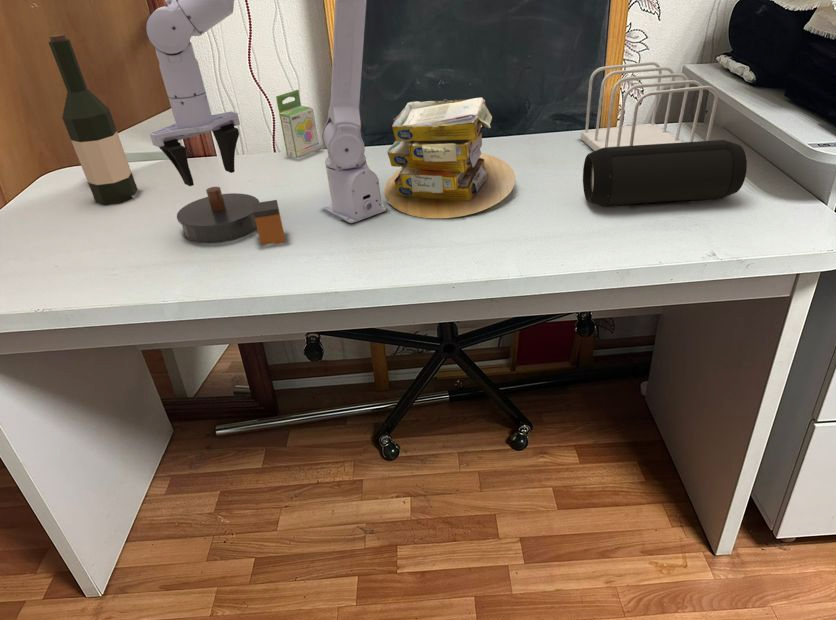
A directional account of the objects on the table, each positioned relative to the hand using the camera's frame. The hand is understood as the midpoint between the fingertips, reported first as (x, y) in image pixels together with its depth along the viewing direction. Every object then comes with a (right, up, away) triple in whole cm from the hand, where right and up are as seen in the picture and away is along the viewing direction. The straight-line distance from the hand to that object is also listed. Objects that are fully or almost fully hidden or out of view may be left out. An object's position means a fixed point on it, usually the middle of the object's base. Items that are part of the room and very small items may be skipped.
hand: (210, 177), depth 106 cm
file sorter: (+82, +12, +25) cm, 86 cm away
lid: (0, -5, +4) cm, 6 cm away
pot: (+1, -8, +6) cm, 10 cm away
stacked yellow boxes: (+41, +1, +14) cm, 44 cm away
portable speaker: (+78, -3, +5) cm, 78 cm away
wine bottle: (-27, +2, +22) cm, 35 cm away
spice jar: (+11, -11, 0) cm, 15 cm away
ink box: (+8, +15, +37) cm, 41 cm away
